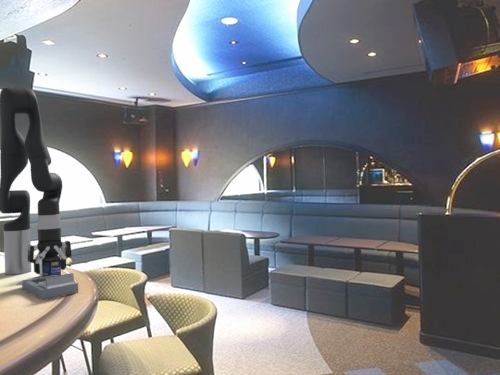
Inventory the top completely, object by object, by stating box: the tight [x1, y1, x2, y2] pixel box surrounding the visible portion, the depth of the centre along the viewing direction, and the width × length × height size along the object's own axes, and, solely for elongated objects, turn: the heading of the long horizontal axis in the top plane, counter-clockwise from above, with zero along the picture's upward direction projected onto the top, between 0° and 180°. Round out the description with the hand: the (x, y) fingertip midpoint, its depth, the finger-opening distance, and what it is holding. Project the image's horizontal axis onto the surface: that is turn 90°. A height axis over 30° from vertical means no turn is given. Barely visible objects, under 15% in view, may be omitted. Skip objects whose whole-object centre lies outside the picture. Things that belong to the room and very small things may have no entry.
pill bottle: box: [41, 251, 62, 277], centre depth 143 cm, size 6×6×11 cm
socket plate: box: [21, 275, 79, 301], centre depth 129 cm, size 19×11×3 cm, turn 46°
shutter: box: [38, 272, 75, 289], centre depth 125 cm, size 8×8×3 cm
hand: (50, 271), depth 143 cm, fingers open, 8 cm apart
